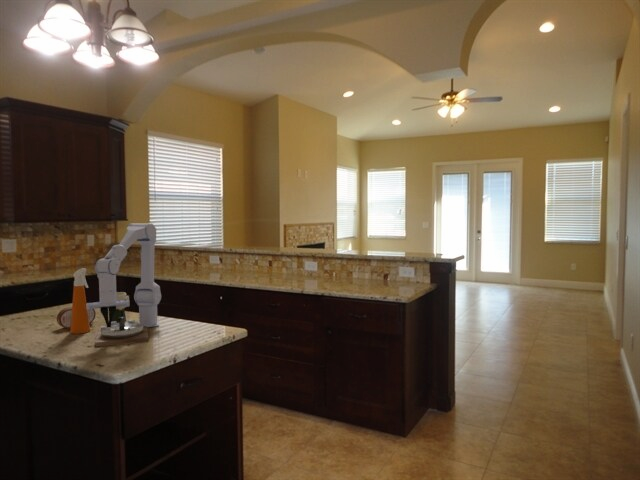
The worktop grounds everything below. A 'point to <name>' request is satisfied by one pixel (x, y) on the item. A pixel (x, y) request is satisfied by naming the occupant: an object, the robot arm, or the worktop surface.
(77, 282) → the spray bottle
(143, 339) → the base board
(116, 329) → the grey disc with blocks
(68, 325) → the tin
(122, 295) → the character mug
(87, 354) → the worktop surface
